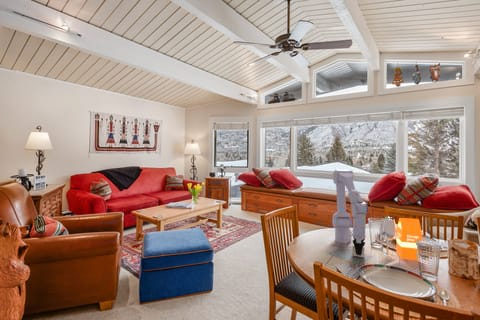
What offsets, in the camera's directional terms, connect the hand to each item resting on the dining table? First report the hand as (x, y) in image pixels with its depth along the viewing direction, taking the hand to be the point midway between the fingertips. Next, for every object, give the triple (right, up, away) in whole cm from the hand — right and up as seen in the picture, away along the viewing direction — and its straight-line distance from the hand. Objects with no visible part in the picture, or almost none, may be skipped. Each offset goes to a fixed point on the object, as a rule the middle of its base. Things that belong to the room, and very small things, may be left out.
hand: (358, 252), depth 121 cm
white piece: (0, -1, 0) cm, 1 cm away
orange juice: (+27, -3, +3) cm, 28 cm away
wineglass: (+17, -3, +3) cm, 17 cm away
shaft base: (-4, -3, +2) cm, 5 cm away
